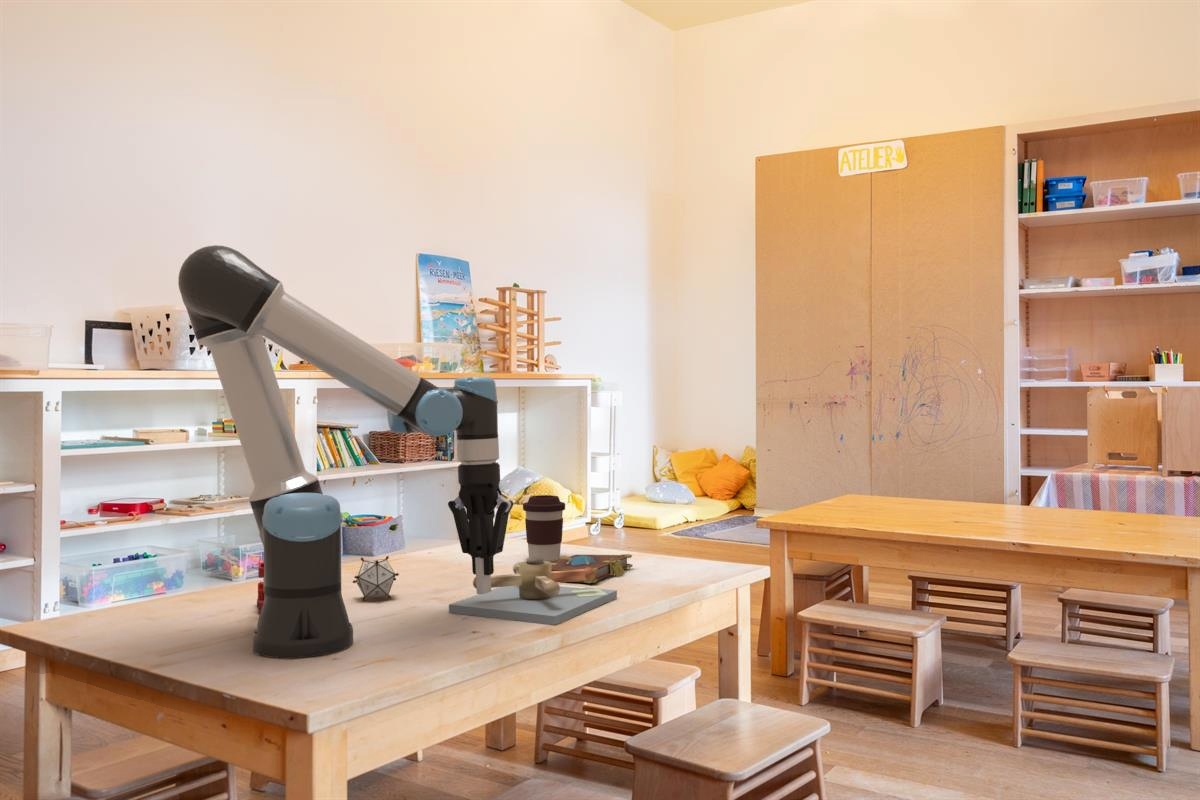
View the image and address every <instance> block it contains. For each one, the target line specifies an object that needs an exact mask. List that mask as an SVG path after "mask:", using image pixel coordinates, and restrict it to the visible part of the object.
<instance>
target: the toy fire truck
mask: <svg viewBox="0 0 1200 800" xmlns="http://www.w3.org/2000/svg"><path fill="white" fill-rule="evenodd" d="M257 573H258V574H257V575H258V578H259V579H261V578H263V581H259V582H257V599H256V606H257V613H258V614H260V613H261V609H262V606H263V603H264V561H262V562H258V571H257Z"/></svg>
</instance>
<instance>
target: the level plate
mask: <svg viewBox="0 0 1200 800" xmlns="http://www.w3.org/2000/svg"><path fill="white" fill-rule="evenodd" d="M559 586H560V592H559V593H558V595H556V596H550V597H548V598H542V599H526V598H521V597H520V596H519V586H506V587H495V588H493V589H491V592H488V593H486V594H476V595H473V596H470V597H467V598H464V599H461V600H458V601H455V602H452V603H449V604H448V613H449V614H458V615H467V616H473V617H474V616H475V617H481V618H482V617H485V618H490V619H491V618H493V619H500V620H501V619H502V620H509V621H518V622H525V623H526V622H527V623H535V624H544V625H550V626H551V625H553V626H556V625H559V624H561V623H563V622H565V621H568V620H570V619H572V618H575V617H578V616H579V615H581V614H583V613H586V612H588V611H591V610H593V609H595V608H598V607H600V606H602V605H604V604H607V603H609V602H611V601H614V600H616V599H617V598H618V590H615V589H608V588H607V589H606V588H605V589H604V588H597V587H596V588H595V587H587V586H586V587H585V586H574V585H566V584H564V585H563V584H559Z"/></svg>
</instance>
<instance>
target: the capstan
mask: <svg viewBox="0 0 1200 800" xmlns="http://www.w3.org/2000/svg"><path fill="white" fill-rule="evenodd" d="M551 563H552V562H548V561H544V559H543V558H529V557H528V558H526V560H525V561H518V562H516V563H514V565H513V566H512V571H513V573H514V574H512V573H511V574H497V575H491V589H492V588H493V589H494V588H499V587H506V586H519V596H520V597H521V598H526V599H542V598H548V597H550V596H556V595H558V593H559V592H560V586H559V585H560V584H559V583H566V582H567V583H571V582H570V581H582V580H585V581H592V580H593V579H594V577H595V571H594V570H593V569H592V568H590V567H587V568H585V569H577V570H564V571H551ZM472 586H473V587H474V589H475V590H477V588H476V576H475V577H474V578H473V580H472Z"/></svg>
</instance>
